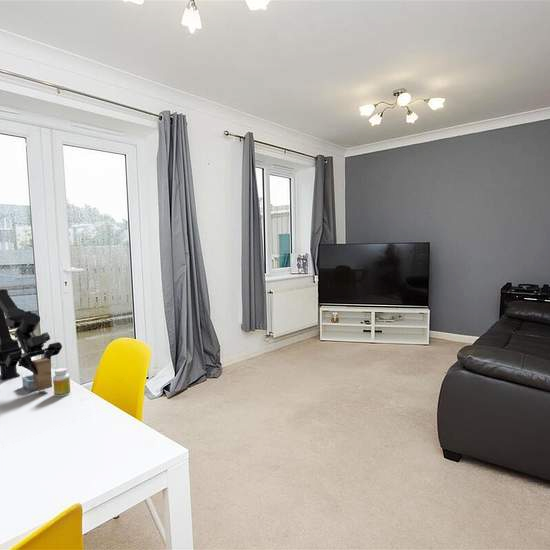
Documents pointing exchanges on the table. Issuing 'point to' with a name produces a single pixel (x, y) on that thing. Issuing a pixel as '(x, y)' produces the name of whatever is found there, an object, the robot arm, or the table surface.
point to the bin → (28, 383)
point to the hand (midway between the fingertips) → (43, 371)
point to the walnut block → (42, 374)
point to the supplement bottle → (61, 382)
